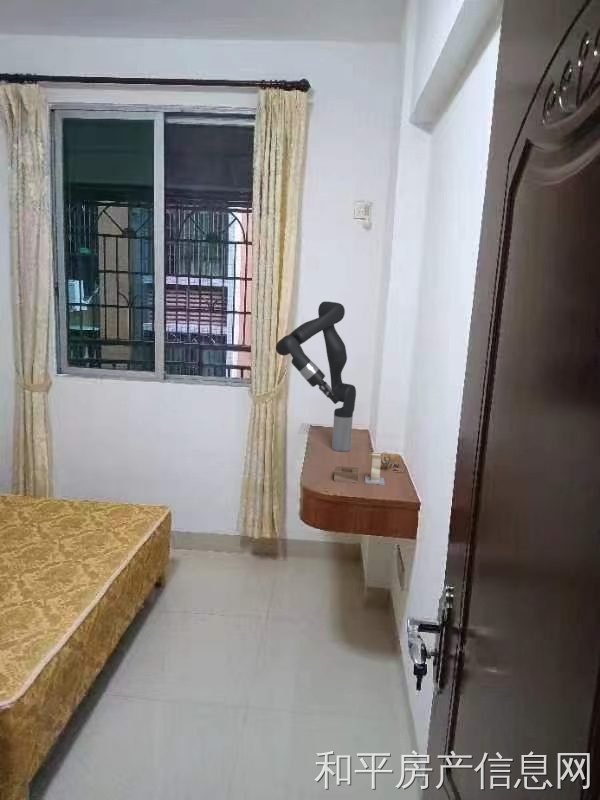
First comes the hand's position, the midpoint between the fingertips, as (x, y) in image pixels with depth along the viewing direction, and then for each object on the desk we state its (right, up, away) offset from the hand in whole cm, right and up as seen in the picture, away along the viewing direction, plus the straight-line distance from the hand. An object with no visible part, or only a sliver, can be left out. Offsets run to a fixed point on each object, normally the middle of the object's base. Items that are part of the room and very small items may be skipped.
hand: (336, 400), depth 260 cm
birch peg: (+15, -33, -10) cm, 38 cm away
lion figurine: (+25, -31, +8) cm, 41 cm away
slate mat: (+15, -34, -10) cm, 39 cm away
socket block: (+4, -33, -8) cm, 34 cm away
